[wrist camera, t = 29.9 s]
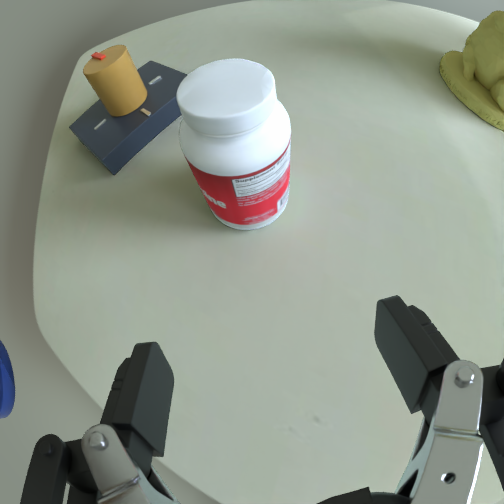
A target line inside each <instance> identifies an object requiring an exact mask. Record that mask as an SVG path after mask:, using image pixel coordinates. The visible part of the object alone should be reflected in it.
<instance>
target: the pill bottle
mask: <svg viewBox="0 0 504 504" xmlns="http://www.w3.org/2000/svg"><path fill="white" fill-rule="evenodd" d="M176 98H177V103H178V106H179V108H180V111H181V114H182V117H183V120H182V122H181V125H180V130H179V140H180V145H181V148H182V151H183V153H184V156H185V158H186V160H187V162H188V164H189V166H190V168H191V170H192V172H193V174H194V176H195V178H196V180H197V182H198V185H199V186H200V189H201V191H202V193H203V195H204V197H205V199H206V201H207V203H208V205H209V207H210V209H211V211H212V212H213V214H214V215H215V216H216V218H217V219H218V220H220V221H221V222H222V223H223V224H225V225H227V226H229V227H231V228H234V229H239V230H254V229H258V228H262V227H264V226H266V225H268V224H270V223H272V222H273V221H274V220H276V219H277V218H278V217H279V216H280V214H281V213H282V212H283V210H284V209H285V207H286V204H287V201H288V196H289V183H290V182H289V178H290V145H291V125H290V119H289V116H288V114H287V112H286V110H285V108H284V107H283V105H282V104H281V103H280V102H279V101H278V100H277V96H276V90H275V81H274V77H273V75H272V73H271V72H270V71H269V70H268V69H267V68H266V67H265V66H263V65H261V64H259V63H257V62H254V61H250V60H246V59H223V60H218V61H213V62H210V63H207V64H205V65H203V66H201V67H199V68H197V69H195V70H194V71H192V72H191V73H190V74H188V75H187V76H186V77H185V78H184V79H183V81H182V82H181V83H180V85H179V87H178V90H177V95H176Z"/></svg>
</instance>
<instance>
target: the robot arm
mask: <svg viewBox="0 0 504 504" xmlns="http://www.w3.org/2000/svg"><path fill="white" fill-rule="evenodd" d="M374 335H375V341H376V344H377V347H378V349H379V351H380V353H381V355H382V357H383V358H384V360H385V362H386V364H387V366H388V368H389V370H390V372H391V374H392V376H393V378H394V380H395V382H396V384H397V386H398V388H399V390H400V392H401V394H402V396H403V398H404V400H405V402H406V404H407V406H408V408H409V410H410V412H411V414H412V413H415V412H417V411H420V410H422V412H423V414H424V417H423V420H422V423H421V427H420V430H419V433H418V437H417V440H416V443H415V446H414V449H413V452H412V455H411V457H410V460H409V463H408V465H407V467H406V469H405V471H404V473H403V475H402V477H401V479H400V481H399V483H398V486H397V488H396V490H395V493H387V492H371V493H370V490H369V487H366V488H363V489H360V490H356V491H353V492H349V493H346V494H342V495H338V496H334V497H331V498H329V499H326V500H324V501H322V502H320V503H317V504H469V502H470V498H471V495H472V492H473V488H474V484H475V480H476V477H477V472H478V468H479V463H480V459H481V454H482V448H483V440H484V442H485V445H486V447H487V449H488V452H489V454H490V456H491V459H492V461H493V464H494V466H495V469H496V471H497V474H498V477H499V479H500V482H501V485H502V488H503V491H504V359H503V361H502V363H501V365H497V366H491V367H485V368H479V367H478V366H477V365H476V364H475V363H473V362H471V361H467V360H460V359H459V358H458V356H457V355H456V353H455V352H454V351H453V349H452V348H451V347H450V345H449V344H448V343H447V341H446V340H445V339H444V337H443V336H442V335H441V333H440V332H439V331H437V328H436V327H435V325H434V324H433V323H431V320H430V319H429V318H428V316H427V315H426V314H425V313H424V312H423V311H422V310H420V309H418V308H417V307H415V306H413V305H411V306H408V307H407V305H406V304H405V303H404V301H403V300H402V299H401V298H400V297H399V296H398V295H396V296H392V297H389V298H385V299H381V300H378V302H377V308H376V320H375V331H374ZM114 380H115V381H113V384H112V387H111V389H112V390H110V393H109V396H108V399H107V402H106V406H105V409H104V412H103V415H102V418H101V421H100V424H98V425H95V426H92V427H91V428H90V429H88V430H87V431H86V432H85V434H84V436H83V437H82V439H78V440H73V441H68V442H63V441H62V440H61V439H60V438H59V437H57V436H56V435H53V434H48V435H45V436H43V437H42V438H40V439H39V441H38V442H37V443H36V445H35V448H34V452H33V455H32V458H31V462H30V465H29V469H28V472H27V476H26V480H25V484H24V488H23V493H22V498H21V502H20V504H62V503H63V497H64V491H65V486H66V483H68V484H69V485H70V489H69V494H68V500H67V504H181V503H180V502H179V501H178V500H177V499H176V498H175V496H174V495H173V493H172V492H171V491H170V490H169V488H168V487H167V485H166V484H165V483H164V481H163V480H162V478H161V477H160V475H159V474H158V473H157V471H156V470H155V468H154V467H153V465H152V464H151V462H152V456H154V457H163V456H164V448H165V440H166V433H167V426H168V419H169V412H170V406H171V399H172V393H173V387H174V376H173V372H172V369H171V367H170V365H169V363H168V361H167V360H166V358H165V356H164V354H163V352H162V350H161V348H160V346H159V345H158V343H157V342H146V343H137V344H136V345H135V346H134V349H133V352H132V355H131V358H126V359H125V360H124V361H123V363H122V364H121V365H120V366H119V368H118V370H117V373H116V376H115V379H114ZM478 429H479V431H480V433H481V435H479V434H478Z"/></svg>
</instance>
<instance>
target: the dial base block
mask: <svg viewBox="0 0 504 504" xmlns="http://www.w3.org/2000/svg"><path fill="white" fill-rule="evenodd" d="M137 71H138V73H139V75H140V77H141V79H142V81H143V84H144V86H145V88H146V90H147V97H146V99H145V101H144V102H143V103H142V105H141V106H139V107H138V108H137V109H136V110H134V111H133V112H131V113H129V114H127V115H124V116H119V117H115V116H112V115H110V114H109V112H108V111H107V109H106V108H105V106H104V105H103V103H102V101H101V100H100V99H99V100H98V101H97V102H96V103H95V104H94V105H92V106H91V107H90V108H89V109H88V110H87V111H86V112H85V113H83V114H82V115H81V116H80V117H79V118H78V119H77V120H76V121H75V122H74V123H73V124H72V125H71V126H70V127H69V128H70V129H71V130H72V132H73V133H74V134H75V135H76V136H77V138H78V139H79V140H80V141H81V142H82V143H83V144H84V145H85V146H86V147H87V148H88V149H89V150H90V151H91V152H92V154H93V155H94V156H95V157H96V158H97V159H98V160H99V161H100V162H101V163H102V164H103V165H104V166H105V167H106V168H107V169H108V170H109V171H110V172H111V173H112V174H113V175H115V174H116V173H117V172H118V171H119V170H120V169H121V168H122V167H123V166H124V165H125V164H126V163H127V162H128V161H129V160H130V159H131V158H132V157H133V156H134V155H135V154H136V153H138V152H139V151H140V150H141V149H142V148H143V147H144V146H145V145H146V144H147V143H149V142H150V141H151V140H152V139H153V138H154V137H155V136H156V135H158V134H159V133H160V132H161V131H162V130H163V129H165V128H166V127H167V126H168V125H169V124H171V123H172V122H173V121H174V120H175V119H177V118H178V117H179V116H180V115H182V114H181V111H180V108H179V106H178V103H177V98H176V95H177V90H178V87H179V85H180V83H181V82H182V81H183V79H184V78H185V77H186V76H187V74H185V73H182V72H180V71H177V70H175V69H172V68H169V67H167V66H164V65H161V64H159V63H156V62H153V61H149V62H148V63H146V64H145V65H143V66H142V67H140V68H139V69H138V70H137Z"/></svg>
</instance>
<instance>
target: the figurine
mask: <svg viewBox="0 0 504 504" xmlns="http://www.w3.org/2000/svg"><path fill="white" fill-rule="evenodd" d="M465 45H466V46H465V48H464V49H463V52H458V51H450V52H447V53H445V55H444V56H443V57H442V59H441V61H440V68H439V70H440V74H441V76H442V78H443V79H444V81H445V82H446V84H447V86H448V87H449V89H450V90H451V91H452V92H453V93H454V95H455V96H456V97H457V98H458V99H459V100H460V101H461V102H462V103H463V104H465V105H466V106H467V107H468V108H469V109H470V110H472V111H473V112H474V113H476V114H477V115H478V116H479V117H480V118H482V119H483V120H485V121H486V122H488V123H490V124H491V125H493V126H494V127H496V128H498V129H500V130H503V131H504V11H494V12H492V13H491V14H490V15H489V16H488V17H487V18H485V19H483V20H482V21H481V22H480V24H479V26H478V28H477V29H476V30H475V31H474V32H473V33H472V34H471V35H469V36H468V38H467V40H466V43H465Z"/></svg>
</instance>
